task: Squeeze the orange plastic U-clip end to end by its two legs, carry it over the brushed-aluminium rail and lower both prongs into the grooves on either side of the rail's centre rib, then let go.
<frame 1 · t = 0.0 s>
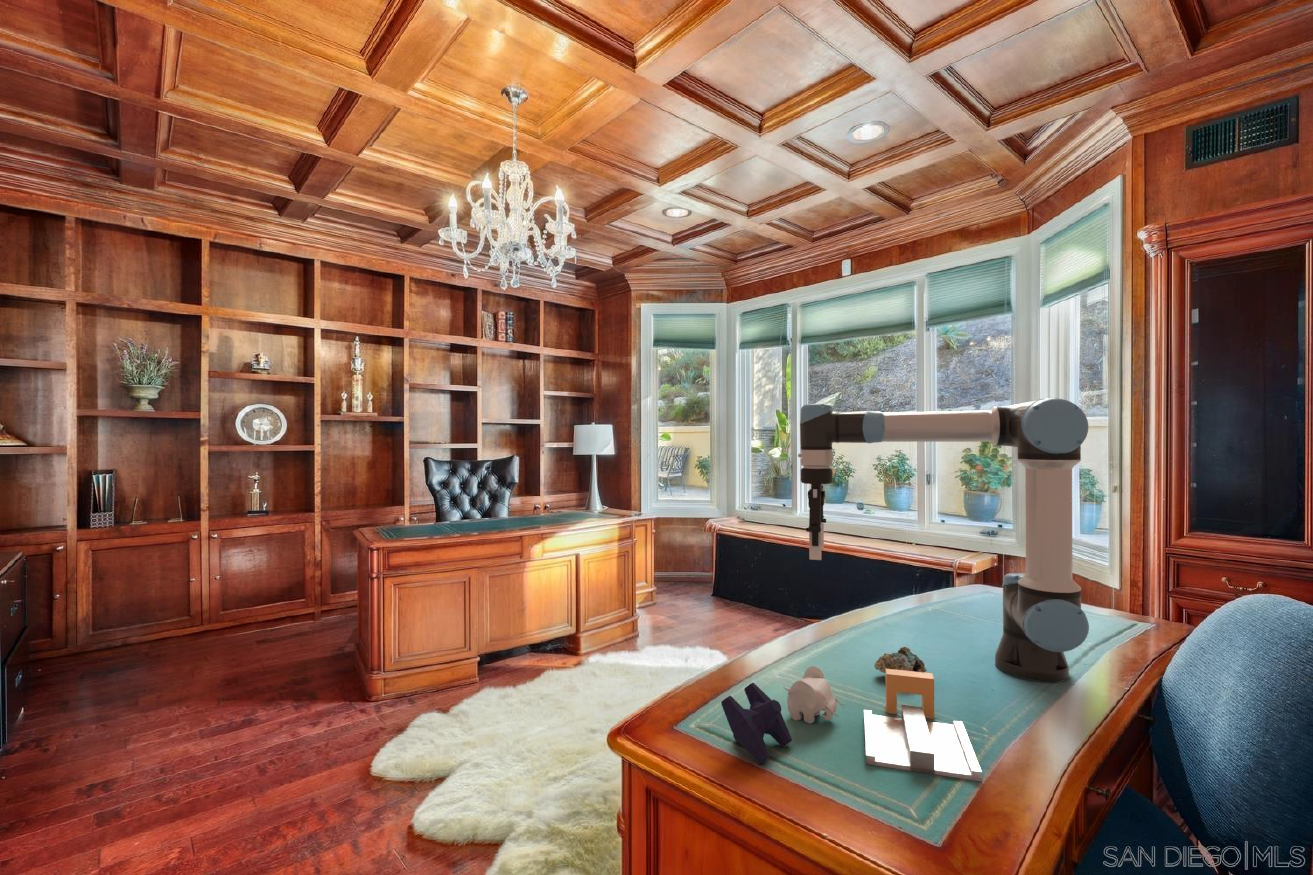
hand: (816, 554, 147), 28 cm above the table, fingers open, 13 cm apart
mineral specimen: (901, 677, 142), on the table
elephant figurine: (812, 718, 122), on the table
rail: (916, 746, 110), on the table
clip: (909, 712, 124), on the table
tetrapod: (756, 749, 110), on the table
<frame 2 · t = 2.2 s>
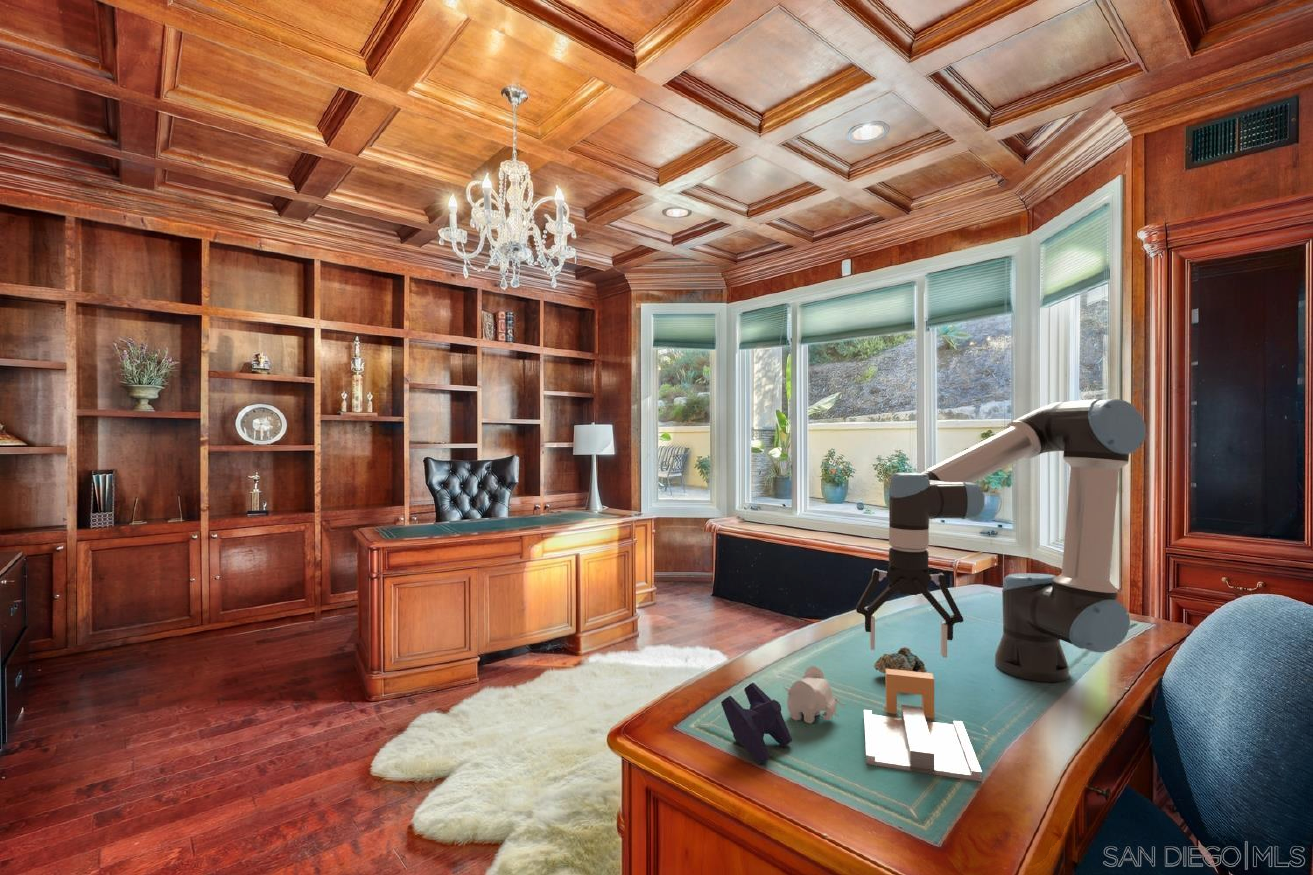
hand: (907, 651, 124), 13 cm above the table, fingers open, 13 cm apart
nothing on the table moved.
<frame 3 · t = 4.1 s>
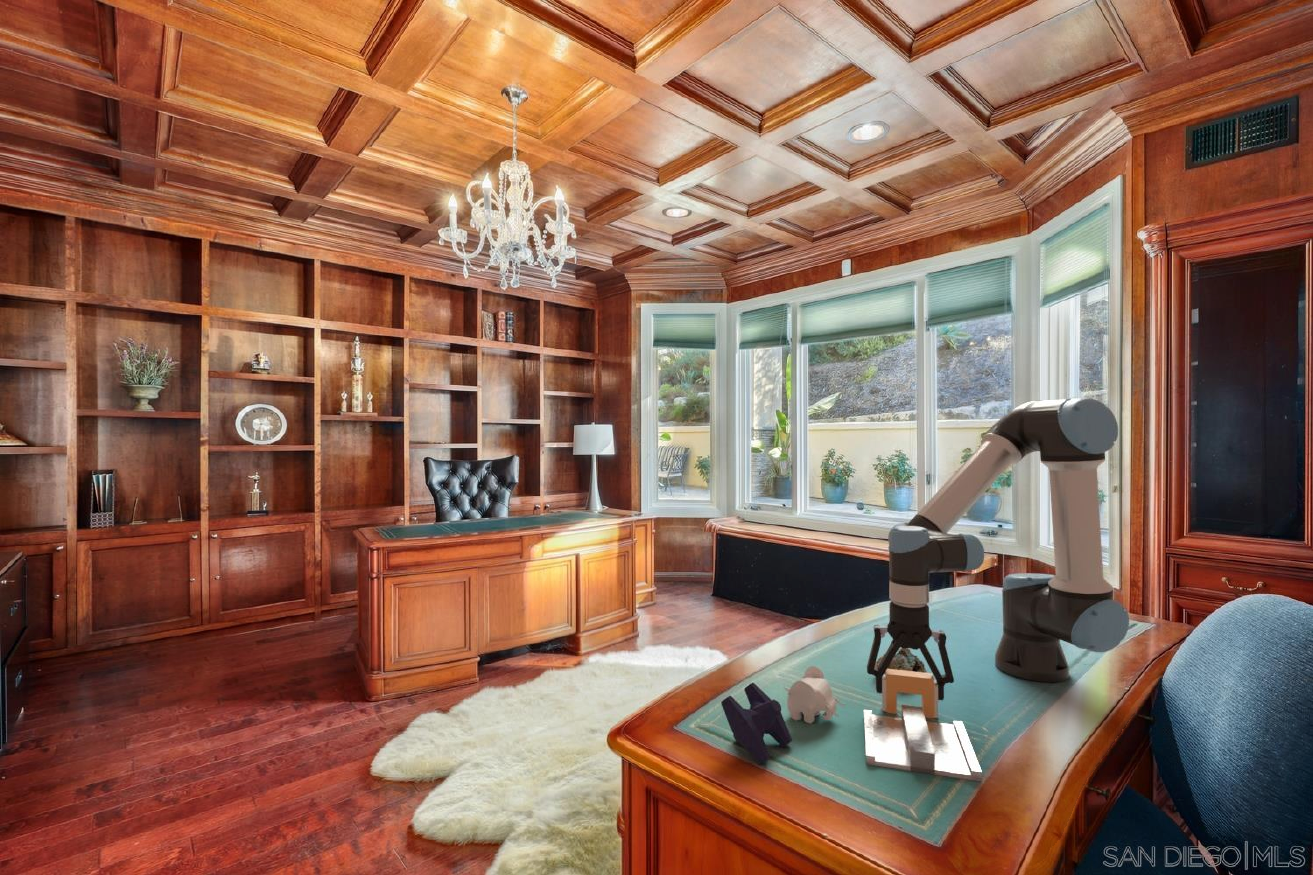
hand: (909, 711, 124), 0 cm above the table, fingers closed on clip, 9 cm apart
clip: (909, 712, 124), on the table, touching gripper
everything else where it was.
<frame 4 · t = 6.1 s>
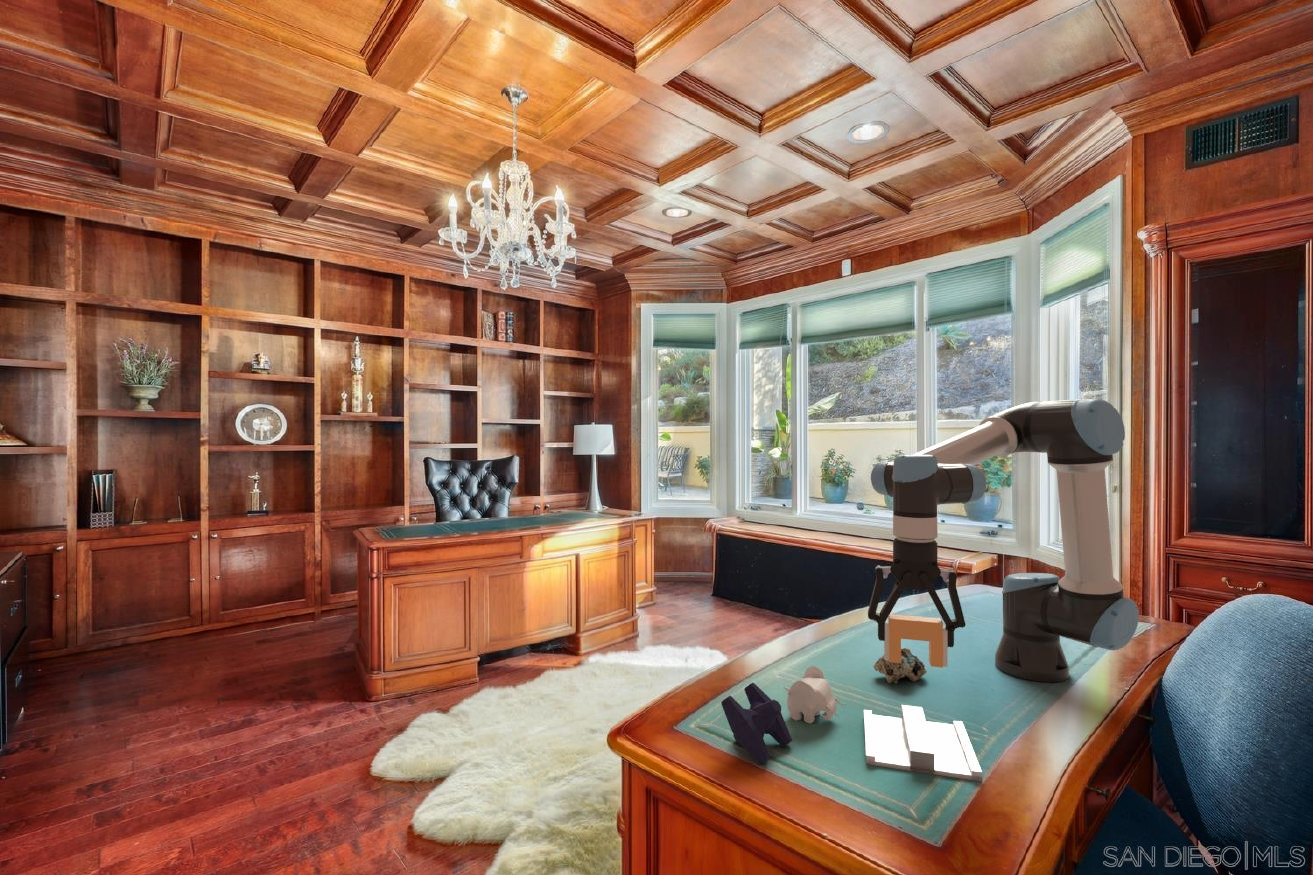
hand: (915, 660, 111), 16 cm above the table, fingers closed on clip, 9 cm apart
clip: (915, 661, 111), point 15 cm above the table, touching gripper
everything else where it was.
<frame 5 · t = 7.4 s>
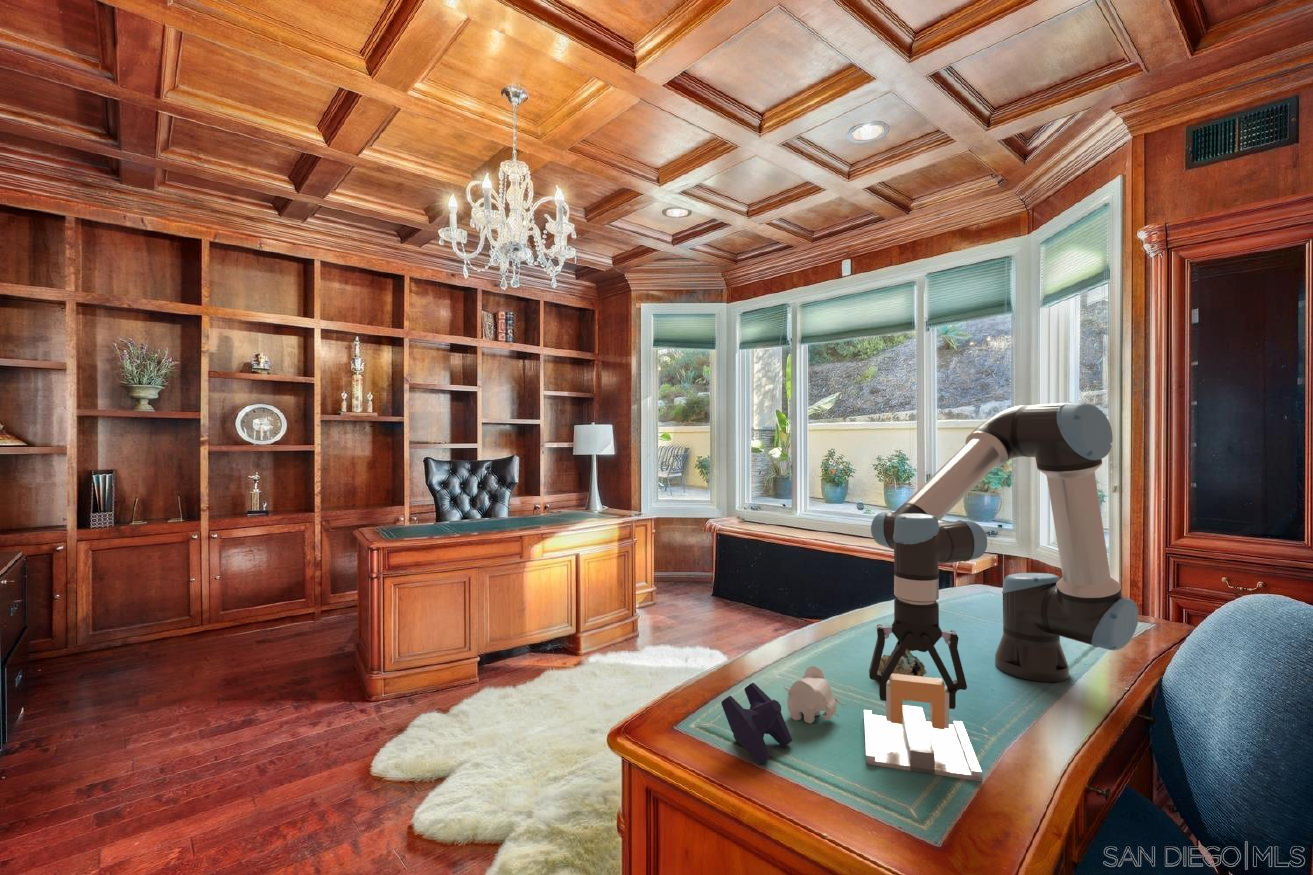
hand: (916, 721, 110), 5 cm above the table, fingers closed on clip, 9 cm apart
clip: (916, 722, 111), point 4 cm above the table, touching gripper
when the fingers open (2 cm above the table, at t = 8.3 s): clip drops 1 cm, resting on rail.
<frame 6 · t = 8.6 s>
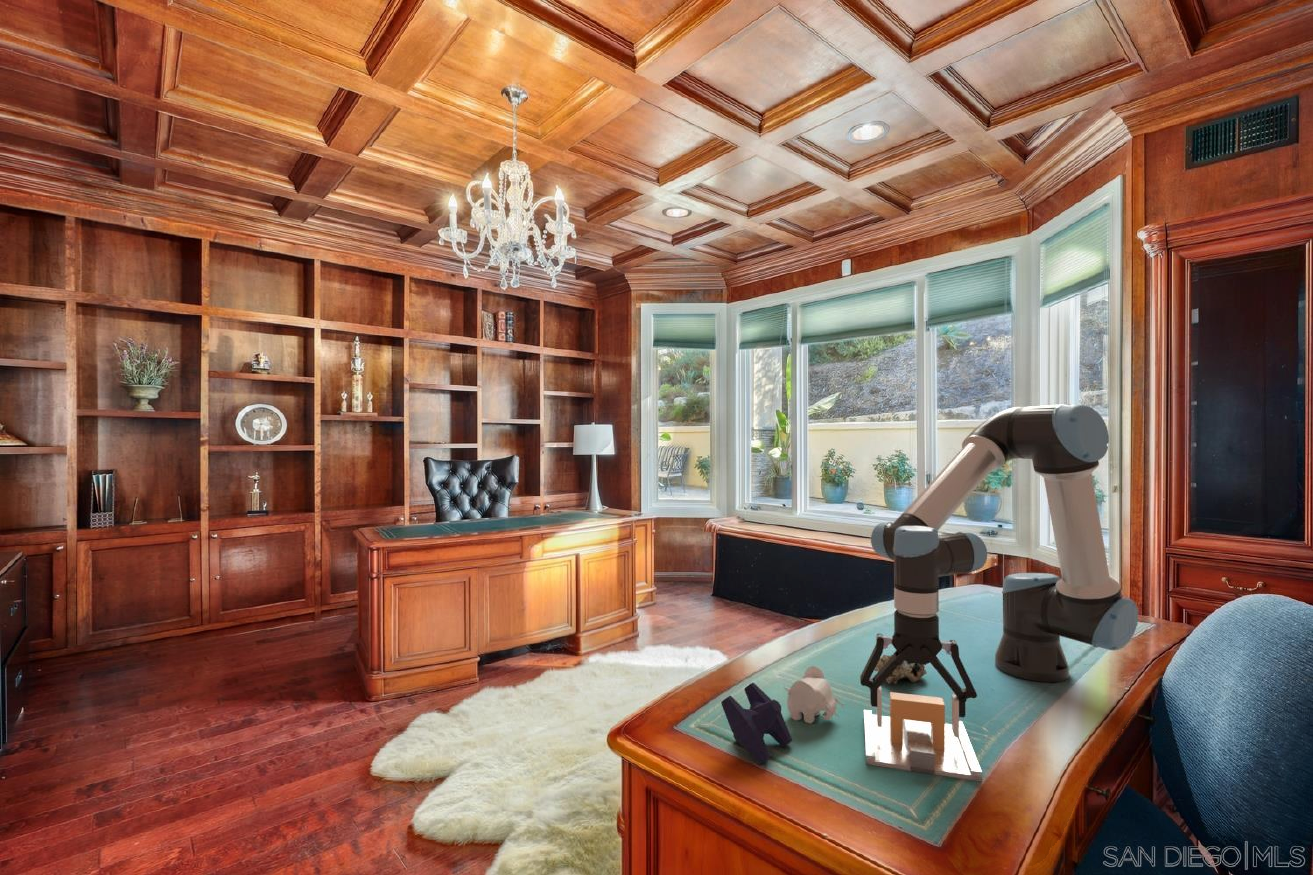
hand: (916, 728, 110), 3 cm above the table, fingers open, 12 cm apart
clip: (916, 741, 111), point 1 cm above the table, touching rail
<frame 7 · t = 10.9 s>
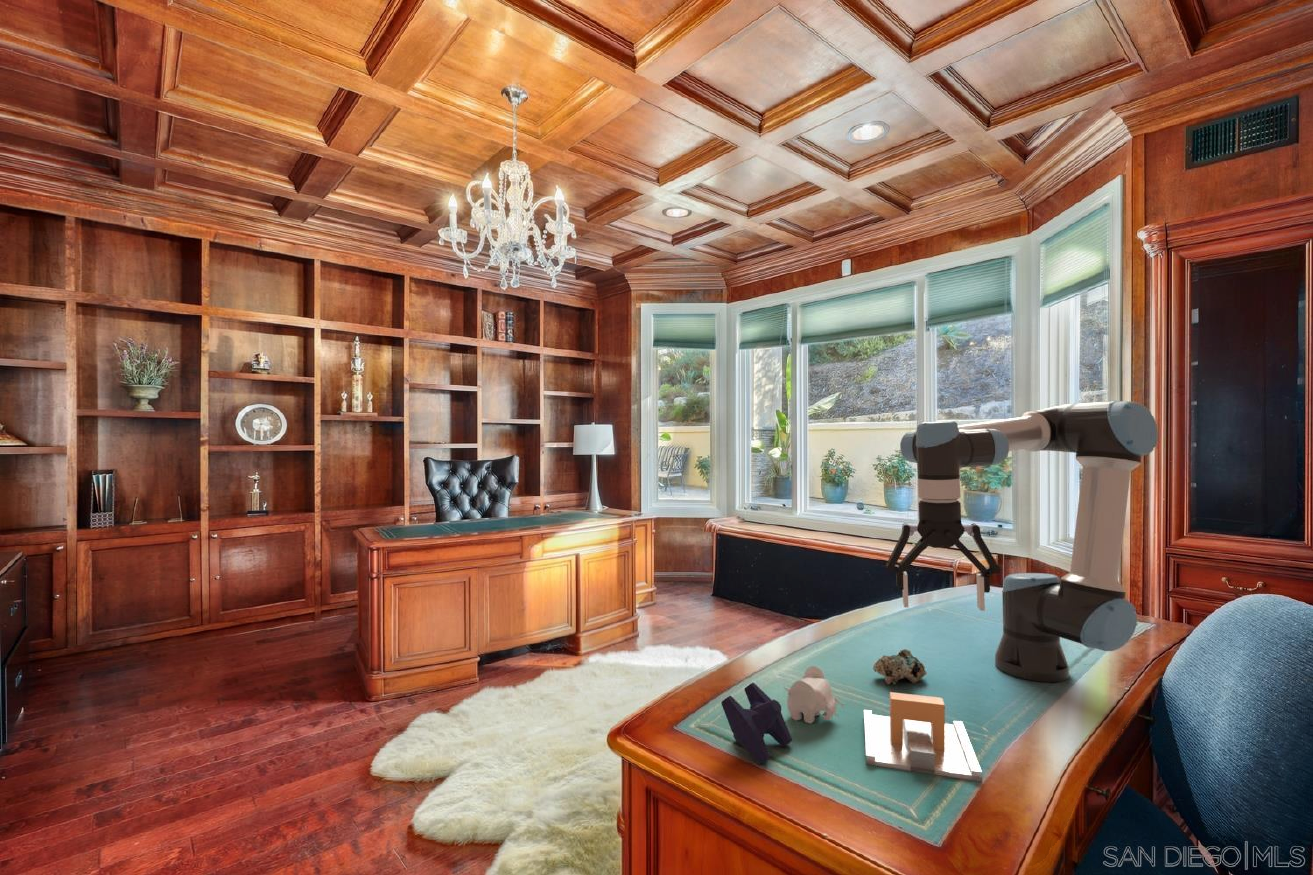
hand: (942, 607, 119), 23 cm above the table, fingers open, 13 cm apart
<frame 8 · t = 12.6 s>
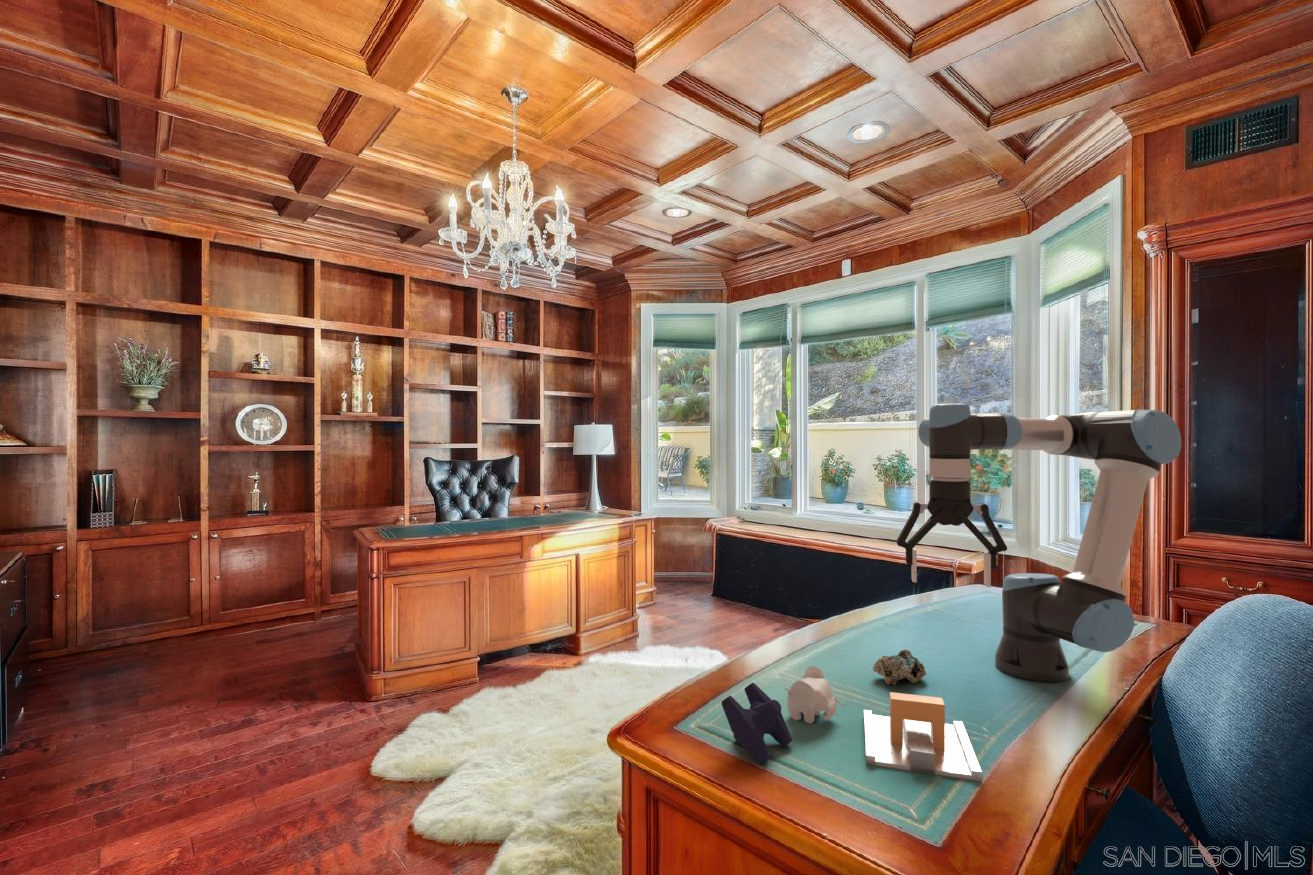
hand: (950, 583, 123), 27 cm above the table, fingers open, 13 cm apart
at the end: clip inside the target area on the rail (0.1 cm from its centre), point 0.8 cm above the rail's base; clip tilted 0°; the gripper is holding nothing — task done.
